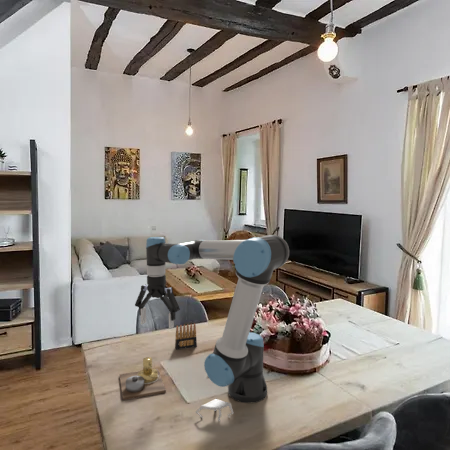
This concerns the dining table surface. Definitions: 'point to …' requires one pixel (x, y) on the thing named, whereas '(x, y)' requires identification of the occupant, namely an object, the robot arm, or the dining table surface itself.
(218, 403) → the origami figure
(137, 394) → the carrier plate
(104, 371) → the dining table surface
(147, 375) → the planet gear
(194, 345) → the ammunition clip
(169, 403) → the dining table surface
